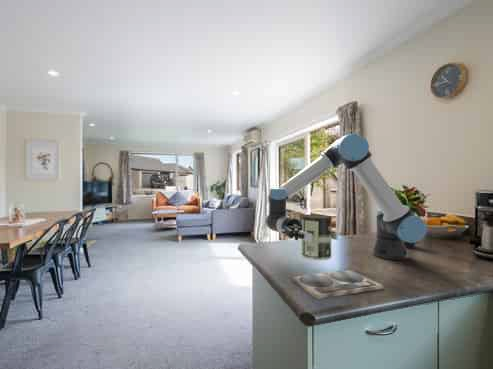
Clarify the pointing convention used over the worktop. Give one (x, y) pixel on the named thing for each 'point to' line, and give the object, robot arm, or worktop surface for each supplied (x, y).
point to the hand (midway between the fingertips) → (324, 237)
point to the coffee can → (317, 236)
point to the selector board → (335, 283)
